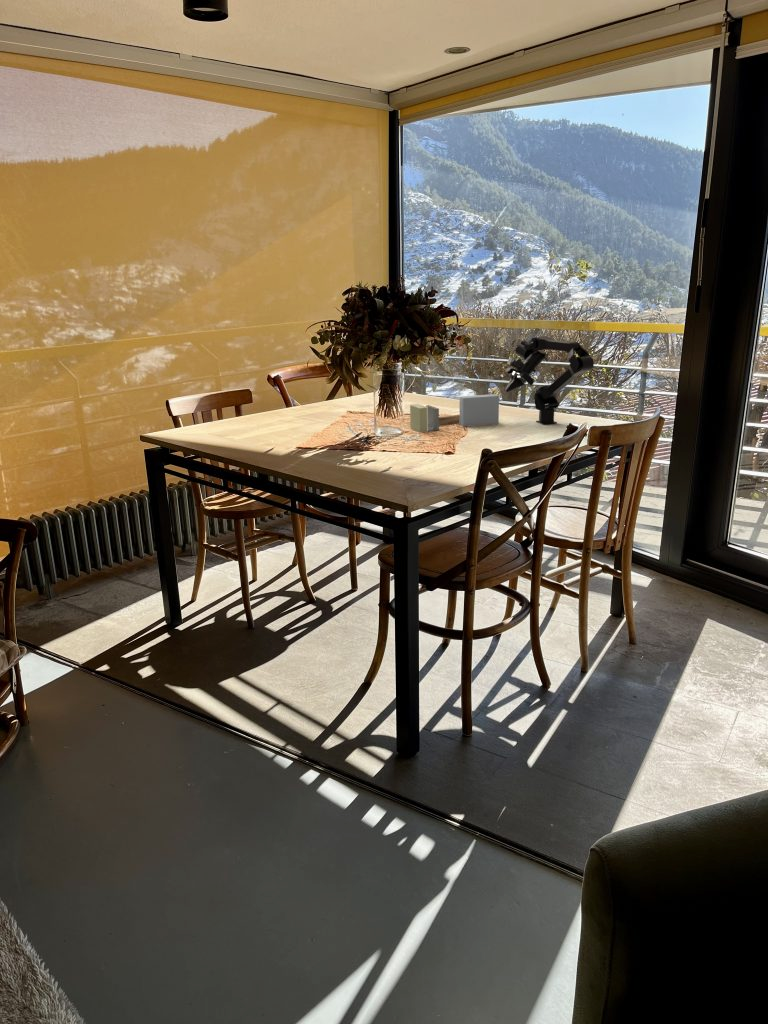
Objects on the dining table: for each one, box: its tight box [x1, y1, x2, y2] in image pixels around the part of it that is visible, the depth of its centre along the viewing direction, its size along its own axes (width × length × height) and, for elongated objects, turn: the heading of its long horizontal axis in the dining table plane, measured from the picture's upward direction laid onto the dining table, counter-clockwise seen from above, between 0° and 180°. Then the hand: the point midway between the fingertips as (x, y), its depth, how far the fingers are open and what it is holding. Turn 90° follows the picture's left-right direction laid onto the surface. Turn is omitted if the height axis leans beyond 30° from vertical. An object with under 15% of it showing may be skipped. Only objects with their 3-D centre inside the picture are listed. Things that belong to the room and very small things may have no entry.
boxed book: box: [458, 393, 500, 427], centre depth 329 cm, size 16×5×12 cm, turn 103°
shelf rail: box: [439, 414, 460, 426], centre depth 335 cm, size 2×30×3 cm, turn 114°
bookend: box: [425, 404, 440, 432], centre depth 322 cm, size 9×6×9 cm
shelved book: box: [409, 403, 429, 433], centre depth 321 cm, size 9×4×10 cm, turn 23°
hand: (506, 391), depth 329 cm, fingers closed
